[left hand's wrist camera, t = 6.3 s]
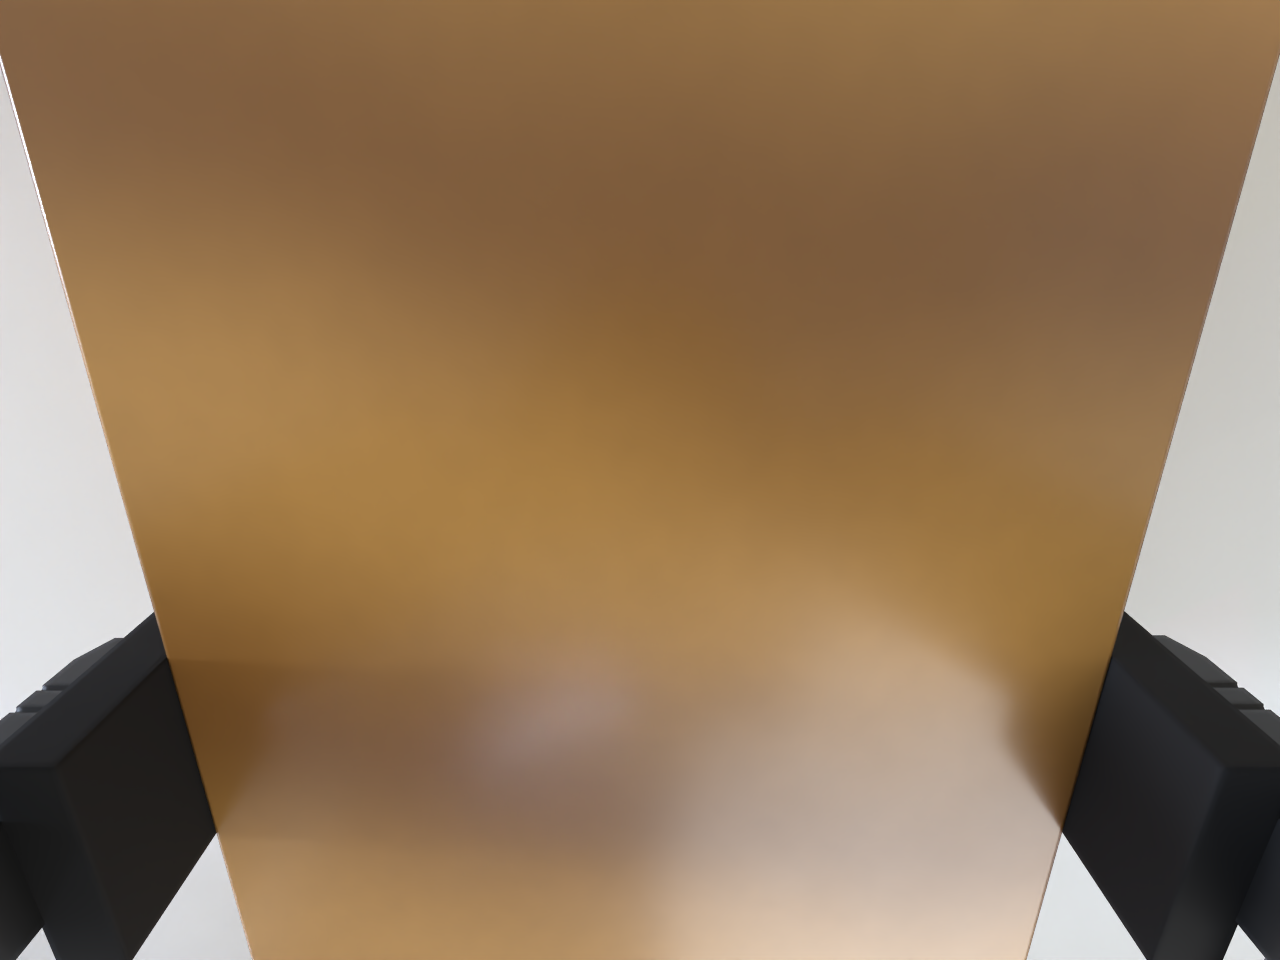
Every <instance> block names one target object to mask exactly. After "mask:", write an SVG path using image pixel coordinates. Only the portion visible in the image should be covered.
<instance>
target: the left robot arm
mask: <svg viewBox="0 0 1280 960" xmlns="http://www.w3.org/2000/svg"><path fill="white" fill-rule="evenodd" d="M16 708H17V710H16V712H15V713H9V714H8V715H6V716H5V717H4V718H3V719H1V720H0V960H16V959H17V958H18V956H19V955H20V954H21V953H22V951H23V950H24V949H25V948H26V947H27V945H28V944H29V943H30V942H31V940H32V939H33V938H34V937H35V935H36V934H37V933H38V932H39V931H40V929H41V928H43V930H44V933H45V935H46V937H47V940H48V942H49V944H50V947H51V949H52V951H53V954H54V956H55V958H56V960H133V958H134V957H135V955H136V954H137V952H138V951H139V949H140V948H141V946H142V945H143V943H144V942H145V940H146V939H147V937H148V935H149V934H150V932H151V931H152V929H153V928H154V926H155V925H156V923H157V922H158V920H159V919H160V917H161V916H162V914H163V913H164V911H165V910H166V908H167V907H168V905H169V904H170V902H171V901H172V899H173V898H174V896H175V895H176V893H177V892H178V890H179V889H180V887H181V886H182V884H183V883H184V881H185V880H186V878H187V877H188V875H189V874H190V872H191V870H192V869H193V867H194V866H195V864H196V863H197V861H198V860H199V858H200V857H201V855H202V854H203V852H204V851H205V849H206V848H207V846H208V845H209V843H210V842H211V840H212V839H213V837H214V836H215V834H216V829H215V826H214V822H213V819H212V815H211V811H210V808H209V804H208V801H207V797H206V794H205V790H204V787H203V783H202V780H201V776H200V772H199V769H198V765H197V762H196V758H195V755H194V751H193V748H192V744H191V740H190V737H189V733H188V730H187V726H186V723H185V719H184V716H183V712H182V709H181V705H180V701H179V698H178V694H177V691H176V687H175V684H174V680H173V677H172V673H171V669H170V666H169V662H168V659H167V655H166V652H165V648H164V645H163V641H162V638H161V634H160V630H159V627H158V623H157V620H156V616H155V613H154V612H153V613H152V614H151V615H150V616H149V617H148V618H146V619H145V620H144V621H143V622H142V623H141V624H139V625H138V626H137V627H136V628H135V629H134V630H133V631H131V632H130V633H129V634H128V635H127V636H126V637H124V638H114V639H112V640H110V641H108V642H107V643H105V644H103V645H101V646H99V647H97V648H95V649H93V650H91V651H90V652H88V653H86V654H84V655H82V656H80V657H78V658H76V659H75V660H73V661H72V662H71V663H69V664H68V665H67V666H66V667H65V668H63V669H62V670H61V671H60V672H58V673H57V674H56V675H55V676H54V677H52V678H51V679H50V680H49V681H48V682H46V683H45V684H44V685H43V689H42V691H35V692H34V693H33V694H32V695H31V696H29V697H28V698H27V699H26V700H25V701H23V702H22V703H21V704H20V705H18V706H17V707H16ZM1062 832H1063V834H1064V835H1065V837H1066V838H1067V840H1068V841H1069V843H1070V845H1071V846H1072V848H1073V849H1074V851H1075V852H1076V854H1077V855H1078V857H1079V858H1080V860H1081V861H1082V863H1083V864H1084V866H1085V867H1086V869H1087V870H1088V872H1089V873H1090V875H1091V876H1092V878H1093V879H1094V881H1095V882H1096V884H1097V885H1098V887H1099V888H1100V890H1101V891H1102V893H1103V894H1104V896H1105V897H1106V899H1107V900H1108V902H1109V903H1110V905H1111V906H1112V908H1113V910H1114V911H1115V913H1116V914H1117V916H1118V917H1119V919H1120V920H1121V922H1122V923H1123V925H1124V926H1125V928H1126V929H1127V931H1128V932H1129V934H1130V935H1131V937H1132V938H1133V940H1134V941H1135V943H1136V944H1137V946H1138V947H1139V949H1140V950H1141V952H1142V953H1143V955H1144V956H1145V958H1146V959H1147V960H1223V958H1224V956H1225V953H1226V951H1227V949H1228V946H1229V944H1230V942H1231V939H1232V937H1233V935H1234V932H1235V930H1236V928H1237V925H1239V926H1240V927H1241V929H1242V930H1243V931H1244V932H1245V933H1246V935H1247V936H1248V937H1249V938H1250V940H1251V941H1252V942H1253V943H1254V944H1255V946H1256V947H1257V948H1258V949H1259V951H1260V952H1261V953H1262V954H1263V955H1264V957H1265V959H1264V960H1280V717H1279V716H1277V715H1276V714H1275V713H1274V712H1272V711H1271V710H1265V709H1264V707H1263V703H1261V702H1260V701H1259V700H1258V699H1257V698H1255V697H1254V696H1253V695H1252V694H1250V693H1249V692H1248V691H1247V690H1246V689H1244V688H1238V686H1237V682H1236V681H1235V680H1233V679H1232V678H1231V677H1230V676H1228V675H1227V674H1226V673H1225V672H1224V671H1222V670H1221V669H1220V668H1219V667H1217V666H1216V665H1215V664H1214V663H1213V662H1211V661H1210V660H1209V659H1208V658H1206V657H1205V656H1203V655H1201V654H1199V653H1197V652H1195V651H1193V650H1192V649H1190V648H1188V647H1186V646H1184V645H1182V644H1180V643H1178V642H1176V641H1174V640H1173V639H1171V638H1169V637H1167V636H1165V635H1151V634H1150V633H1149V632H1148V631H1147V630H1145V629H1144V628H1143V627H1142V626H1141V625H1140V624H1138V623H1137V622H1136V621H1135V620H1134V619H1133V618H1131V617H1130V616H1129V615H1128V614H1127V613H1126V612H1125V611H1124V612H1123V616H1122V620H1121V623H1120V627H1119V630H1118V634H1117V637H1116V641H1115V645H1114V648H1113V652H1112V655H1111V659H1110V662H1109V666H1108V670H1107V673H1106V677H1105V680H1104V684H1103V688H1102V691H1101V695H1100V698H1099V702H1098V705H1097V709H1096V713H1095V716H1094V720H1093V723H1092V727H1091V730H1090V734H1089V738H1088V741H1087V745H1086V748H1085V752H1084V755H1083V759H1082V763H1081V766H1080V770H1079V773H1078V777H1077V780H1076V784H1075V788H1074V791H1073V795H1072V798H1071V802H1070V805H1069V809H1068V813H1067V816H1066V820H1065V823H1064V827H1063V830H1062Z"/></svg>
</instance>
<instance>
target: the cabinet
mask: <svg viewBox="0 0 1280 960" xmlns="http://www.w3.org/2000/svg"><path fill="white" fill-rule="evenodd" d="M1279 55H1280V0H0V66H1V70H2V73H3V77H4V80H5V84H6V87H7V91H8V94H9V98H10V102H11V105H12V109H13V112H14V116H15V119H16V123H17V126H18V130H19V133H20V137H21V141H22V144H23V148H24V151H25V155H26V158H27V162H28V165H29V169H30V173H31V176H32V180H33V183H34V187H35V190H36V194H37V197H38V201H39V204H40V208H41V212H42V215H43V219H44V222H45V226H46V229H47V233H48V236H49V240H50V244H51V247H52V251H53V254H54V258H55V261H56V265H57V268H58V272H59V275H60V279H61V283H62V286H63V290H64V293H65V297H66V300H67V304H68V307H69V311H70V315H71V318H72V322H73V325H74V329H75V332H76V336H77V339H78V343H79V346H80V350H81V354H82V357H83V361H84V364H85V368H86V371H87V375H88V378H89V382H90V386H91V389H92V393H93V396H94V400H95V403H96V407H97V410H98V414H99V417H100V421H101V425H102V428H103V432H104V435H105V439H106V442H107V446H108V449H109V453H110V456H111V460H112V464H113V467H114V471H115V474H116V478H117V481H118V485H119V488H120V492H121V496H122V499H123V503H124V506H125V510H126V513H127V517H128V520H129V524H130V527H131V531H132V535H133V538H134V542H135V545H136V549H137V552H138V556H139V559H140V563H141V567H142V570H143V574H144V577H145V581H146V584H147V588H148V591H149V595H150V598H151V602H152V606H153V609H154V613H155V616H156V620H157V623H158V627H159V630H160V634H161V638H162V641H163V645H164V648H165V652H166V655H167V659H168V662H169V666H170V669H171V673H172V677H173V680H174V684H175V687H176V691H177V694H178V698H179V701H180V705H181V709H182V712H183V716H184V719H185V723H186V726H187V730H188V733H189V737H190V740H191V744H192V748H193V751H194V755H195V758H196V762H197V765H198V769H199V772H200V776H201V780H202V783H203V787H204V790H205V794H206V797H207V801H208V804H209V808H210V811H211V815H212V819H213V822H214V826H215V829H216V833H217V836H218V840H219V843H220V847H221V851H222V854H223V858H224V861H225V865H226V868H227V872H228V875H229V879H230V882H231V886H232V890H233V893H234V897H235V900H236V904H237V907H238V911H239V914H240V918H241V922H242V925H243V929H244V932H245V936H246V939H247V943H248V946H249V950H250V953H251V957H252V960H1026V959H1027V956H1028V952H1029V948H1030V945H1031V941H1032V938H1033V934H1034V931H1035V927H1036V923H1037V920H1038V916H1039V913H1040V909H1041V906H1042V902H1043V898H1044V895H1045V891H1046V888H1047V884H1048V881H1049V877H1050V873H1051V870H1052V866H1053V863H1054V859H1055V856H1056V852H1057V848H1058V845H1059V841H1060V838H1061V834H1062V830H1063V827H1064V823H1065V820H1066V816H1067V813H1068V809H1069V805H1070V802H1071V798H1072V795H1073V791H1074V788H1075V784H1076V780H1077V777H1078V773H1079V770H1080V766H1081V763H1082V759H1083V755H1084V752H1085V748H1086V745H1087V741H1088V738H1089V734H1090V730H1091V727H1092V723H1093V720H1094V716H1095V713H1096V709H1097V705H1098V702H1099V698H1100V695H1101V691H1102V688H1103V684H1104V680H1105V677H1106V673H1107V670H1108V666H1109V662H1110V659H1111V655H1112V652H1113V648H1114V645H1115V641H1116V637H1117V634H1118V630H1119V627H1120V623H1121V620H1122V616H1123V612H1124V609H1125V605H1126V602H1127V598H1128V595H1129V591H1130V587H1131V584H1132V580H1133V577H1134V573H1135V570H1136V566H1137V562H1138V559H1139V555H1140V552H1141V548H1142V545H1143V541H1144V537H1145V534H1146V530H1147V527H1148V523H1149V519H1150V516H1151V512H1152V509H1153V505H1154V502H1155V498H1156V494H1157V491H1158V487H1159V484H1160V480H1161V477H1162V473H1163V469H1164V466H1165V462H1166V459H1167V455H1168V452H1169V448H1170V444H1171V441H1172V437H1173V434H1174V430H1175V427H1176V423H1177V419H1178V416H1179V412H1180V409H1181V405H1182V402H1183V398H1184V394H1185V391H1186V387H1187V384H1188V380H1189V377H1190V373H1191V369H1192V366H1193V362H1194V359H1195V355H1196V351H1197V348H1198V344H1199V341H1200V337H1201V334H1202V330H1203V326H1204V323H1205V319H1206V316H1207V312H1208V309H1209V305H1210V301H1211V298H1212V294H1213V291H1214V287H1215V284H1216V280H1217V276H1218V273H1219V269H1220V266H1221V262H1222V259H1223V255H1224V251H1225V248H1226V244H1227V241H1228V237H1229V234H1230V230H1231V226H1232V223H1233V219H1234V216H1235V212H1236V208H1237V205H1238V201H1239V198H1240V194H1241V191H1242V187H1243V183H1244V180H1245V176H1246V173H1247V169H1248V166H1249V162H1250V158H1251V155H1252V151H1253V148H1254V144H1255V141H1256V137H1257V133H1258V130H1259V126H1260V123H1261V119H1262V116H1263V112H1264V108H1265V105H1266V101H1267V98H1268V94H1269V91H1270V87H1271V83H1272V80H1273V76H1274V73H1275V69H1276V66H1277V62H1278V58H1279Z"/></svg>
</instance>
